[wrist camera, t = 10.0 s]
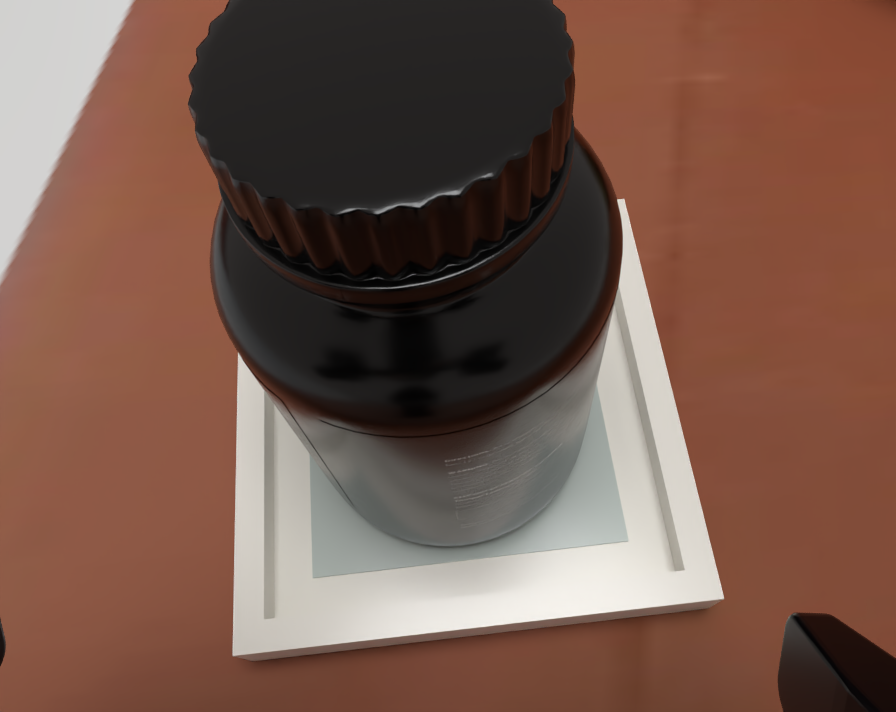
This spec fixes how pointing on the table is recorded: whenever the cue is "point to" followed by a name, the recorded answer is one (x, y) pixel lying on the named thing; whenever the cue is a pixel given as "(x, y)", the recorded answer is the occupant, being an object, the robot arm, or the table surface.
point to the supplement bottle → (412, 247)
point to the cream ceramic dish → (486, 563)
